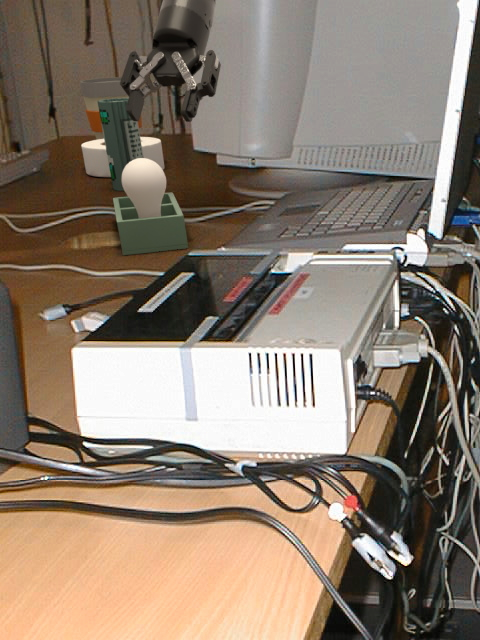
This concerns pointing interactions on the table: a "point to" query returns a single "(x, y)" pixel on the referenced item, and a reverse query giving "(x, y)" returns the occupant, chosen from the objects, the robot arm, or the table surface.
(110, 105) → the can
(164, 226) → the rack
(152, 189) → the lightbulb
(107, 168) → the tape roll
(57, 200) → the table surface
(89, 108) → the reusable coffee cup
